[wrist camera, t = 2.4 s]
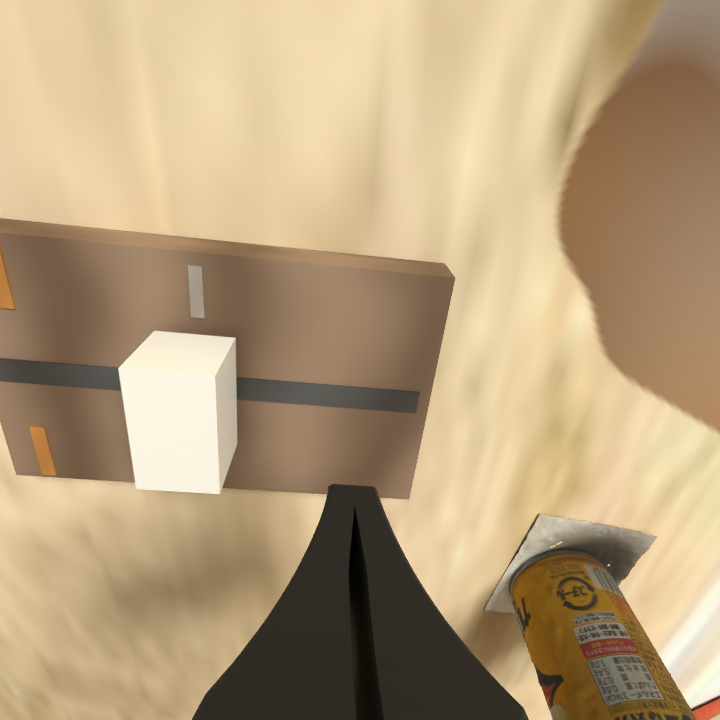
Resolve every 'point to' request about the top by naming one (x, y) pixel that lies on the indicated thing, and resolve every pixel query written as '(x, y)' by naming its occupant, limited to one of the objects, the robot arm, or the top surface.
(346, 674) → the robot arm
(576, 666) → the condiment
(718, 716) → the cracker box
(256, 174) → the top surface
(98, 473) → the fader board
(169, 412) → the fader tab
